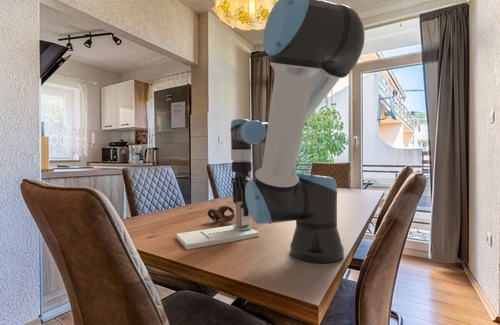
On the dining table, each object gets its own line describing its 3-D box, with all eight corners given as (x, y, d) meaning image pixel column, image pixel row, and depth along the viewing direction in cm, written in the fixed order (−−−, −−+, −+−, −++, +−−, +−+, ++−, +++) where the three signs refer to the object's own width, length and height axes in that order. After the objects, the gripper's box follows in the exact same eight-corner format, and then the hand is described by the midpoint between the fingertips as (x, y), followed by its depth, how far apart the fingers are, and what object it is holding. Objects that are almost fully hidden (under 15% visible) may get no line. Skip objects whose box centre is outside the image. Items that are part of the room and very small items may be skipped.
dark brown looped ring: (233, 220, 122) (237, 206, 118) (230, 234, 114) (234, 220, 110) (207, 214, 121) (210, 200, 117) (203, 228, 113) (206, 213, 109)
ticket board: (259, 236, 95) (258, 231, 95) (187, 249, 83) (187, 244, 83) (241, 227, 107) (241, 223, 107) (176, 237, 95) (176, 233, 95)
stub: (252, 228, 98) (251, 203, 98) (240, 230, 96) (239, 204, 96) (244, 225, 103) (244, 200, 103) (233, 227, 101) (232, 201, 101)
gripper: (261, 161, 94) (262, 227, 94) (240, 160, 108) (241, 217, 109) (242, 161, 90) (243, 230, 91) (223, 161, 105) (224, 220, 105)
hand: (242, 223), depth 100 cm, fingers closed on stub, 3 cm apart
